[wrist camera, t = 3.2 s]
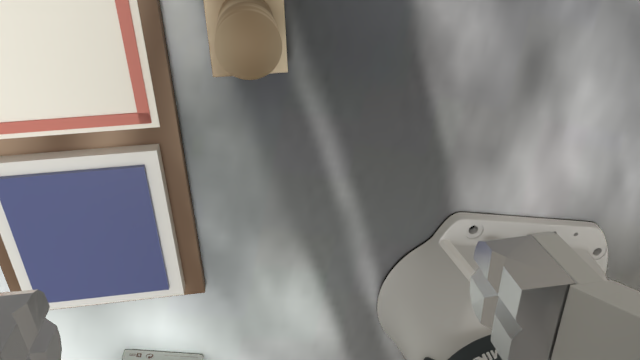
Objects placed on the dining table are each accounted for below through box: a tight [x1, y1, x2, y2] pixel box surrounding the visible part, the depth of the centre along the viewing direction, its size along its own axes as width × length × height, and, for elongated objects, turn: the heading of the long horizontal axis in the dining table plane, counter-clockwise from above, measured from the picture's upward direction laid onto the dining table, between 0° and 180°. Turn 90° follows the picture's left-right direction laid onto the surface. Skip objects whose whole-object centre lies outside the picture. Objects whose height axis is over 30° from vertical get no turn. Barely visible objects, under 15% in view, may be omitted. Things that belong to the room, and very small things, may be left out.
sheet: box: [0, 0, 160, 139], centre depth 33 cm, size 13×14×1 cm
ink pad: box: [0, 144, 185, 310], centre depth 39 cm, size 12×13×2 cm
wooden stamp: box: [203, 0, 288, 80], centre depth 31 cm, size 5×7×9 cm
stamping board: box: [0, 0, 205, 310], centre depth 37 cm, size 15×30×1 cm, turn 1°
